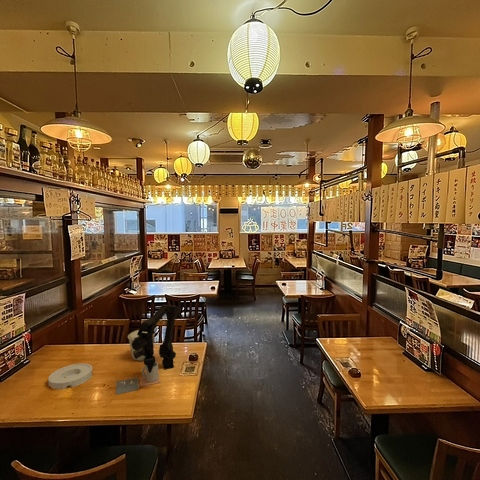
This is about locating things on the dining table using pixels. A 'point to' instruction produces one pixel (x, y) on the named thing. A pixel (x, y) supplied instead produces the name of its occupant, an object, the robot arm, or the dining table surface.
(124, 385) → the tile
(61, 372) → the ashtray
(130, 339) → the canister
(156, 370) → the cup
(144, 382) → the coaster pad
